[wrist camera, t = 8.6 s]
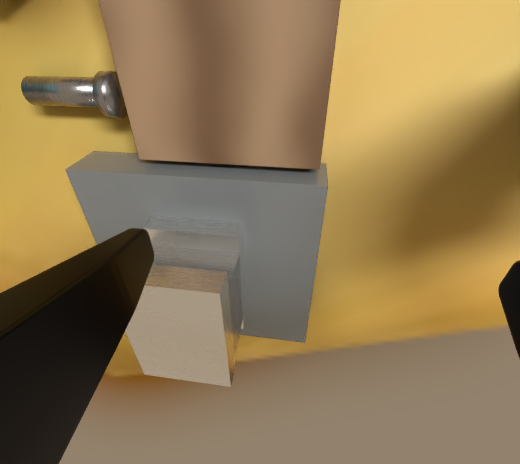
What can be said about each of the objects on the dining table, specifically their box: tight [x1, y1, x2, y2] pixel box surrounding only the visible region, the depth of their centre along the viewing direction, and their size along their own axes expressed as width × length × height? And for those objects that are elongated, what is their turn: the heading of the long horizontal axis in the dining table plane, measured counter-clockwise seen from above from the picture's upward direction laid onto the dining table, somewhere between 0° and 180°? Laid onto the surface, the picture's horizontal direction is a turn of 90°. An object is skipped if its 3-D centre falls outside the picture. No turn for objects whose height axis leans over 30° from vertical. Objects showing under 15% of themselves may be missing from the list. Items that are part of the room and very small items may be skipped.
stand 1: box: [99, 0, 341, 169], centre depth 15 cm, size 11×11×2 cm
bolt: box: [21, 71, 128, 118], centre depth 18 cm, size 6×2×2 cm, turn 90°
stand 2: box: [65, 151, 328, 343], centre depth 23 cm, size 16×15×3 cm
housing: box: [125, 215, 247, 387], centre depth 20 cm, size 6×9×6 cm, turn 0°
